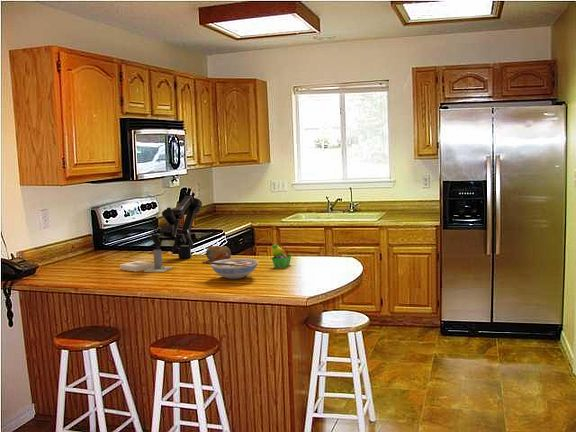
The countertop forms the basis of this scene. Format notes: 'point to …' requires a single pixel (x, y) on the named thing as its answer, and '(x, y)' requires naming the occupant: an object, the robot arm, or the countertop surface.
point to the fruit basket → (280, 257)
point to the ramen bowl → (234, 267)
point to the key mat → (158, 269)
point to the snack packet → (218, 253)
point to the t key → (157, 259)
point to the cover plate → (136, 266)
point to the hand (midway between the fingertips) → (164, 251)
